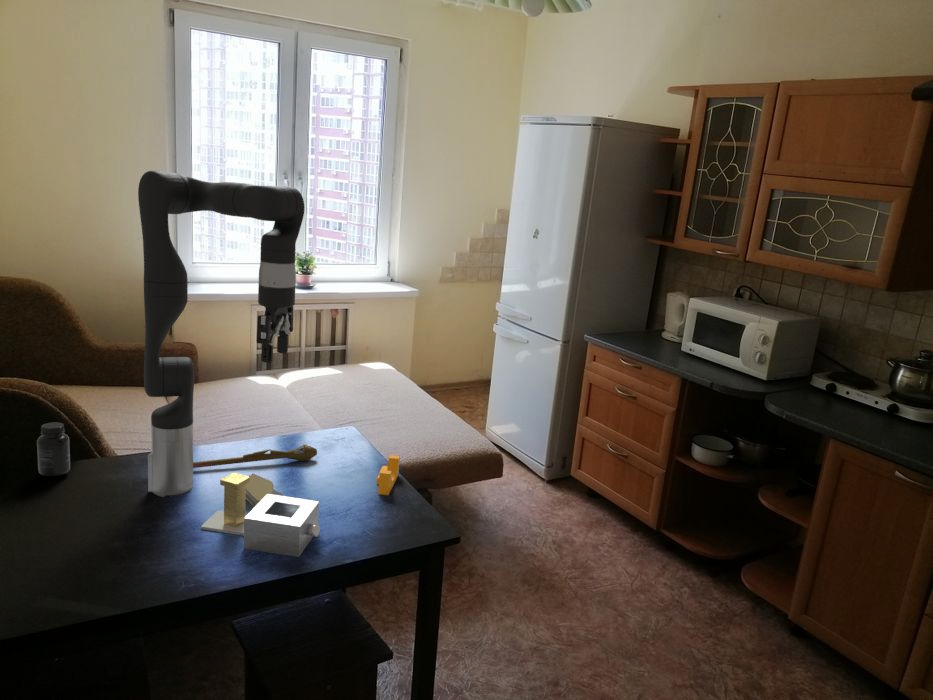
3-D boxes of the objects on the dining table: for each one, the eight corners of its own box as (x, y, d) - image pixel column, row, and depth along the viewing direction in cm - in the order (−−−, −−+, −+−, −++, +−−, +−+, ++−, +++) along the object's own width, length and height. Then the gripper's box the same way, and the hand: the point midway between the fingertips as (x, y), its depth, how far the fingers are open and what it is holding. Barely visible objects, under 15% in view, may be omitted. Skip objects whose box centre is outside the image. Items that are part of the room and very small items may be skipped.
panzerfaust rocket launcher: (179, 471, 185) (178, 454, 184) (314, 456, 198) (314, 440, 197) (180, 479, 181) (179, 461, 179) (318, 463, 194) (318, 447, 193)
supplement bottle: (76, 471, 176) (74, 425, 174) (48, 479, 171) (45, 432, 168) (60, 463, 180) (58, 418, 177) (32, 471, 174) (30, 425, 171)
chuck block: (243, 548, 149) (244, 518, 147) (266, 522, 161) (267, 493, 159) (308, 558, 148) (309, 527, 146) (326, 531, 159) (327, 502, 157)
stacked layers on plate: (227, 502, 168) (229, 491, 164) (249, 475, 175) (252, 463, 171) (263, 523, 168) (266, 512, 164) (284, 495, 174) (288, 484, 170)
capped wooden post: (236, 529, 155) (237, 484, 153) (219, 524, 156) (220, 479, 154) (248, 521, 159) (249, 476, 157) (232, 516, 160) (233, 472, 158)
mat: (200, 528, 155) (200, 526, 155) (217, 512, 163) (218, 510, 163) (244, 535, 154) (244, 533, 154) (259, 518, 162) (259, 516, 162)
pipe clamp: (382, 476, 191) (383, 454, 189) (398, 478, 190) (399, 456, 189) (371, 495, 179) (372, 471, 177) (388, 498, 179) (389, 474, 177)
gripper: (281, 289, 142) (278, 367, 146) (306, 280, 156) (303, 352, 160) (245, 285, 143) (244, 363, 147) (273, 276, 157) (271, 348, 161)
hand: (274, 357), depth 153 cm, fingers open, 8 cm apart
